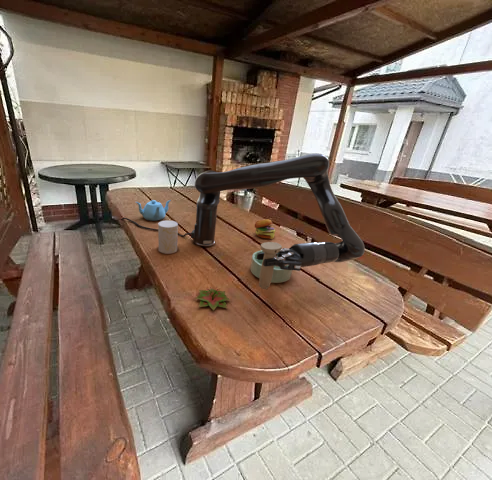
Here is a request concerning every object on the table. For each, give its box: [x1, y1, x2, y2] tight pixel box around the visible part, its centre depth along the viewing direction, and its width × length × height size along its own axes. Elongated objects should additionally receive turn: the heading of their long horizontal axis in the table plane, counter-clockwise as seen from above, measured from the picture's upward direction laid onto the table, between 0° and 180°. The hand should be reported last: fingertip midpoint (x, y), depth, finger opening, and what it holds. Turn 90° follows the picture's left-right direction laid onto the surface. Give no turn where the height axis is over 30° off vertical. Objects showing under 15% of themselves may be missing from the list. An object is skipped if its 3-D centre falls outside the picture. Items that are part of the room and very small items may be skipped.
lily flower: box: [195, 286, 231, 312], centre depth 83 cm, size 12×12×5 cm
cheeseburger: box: [254, 218, 276, 240], centre depth 136 cm, size 10×11×10 cm
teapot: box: [135, 199, 172, 222], centre depth 148 cm, size 15×15×10 cm
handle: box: [258, 241, 283, 291], centre depth 82 cm, size 5×6×15 cm
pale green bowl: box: [250, 249, 294, 284], centre depth 101 cm, size 16×16×6 cm
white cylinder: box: [157, 220, 179, 255], centre depth 112 cm, size 8×8×12 cm
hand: (260, 259), depth 80 cm, fingers closed on handle, 3 cm apart
